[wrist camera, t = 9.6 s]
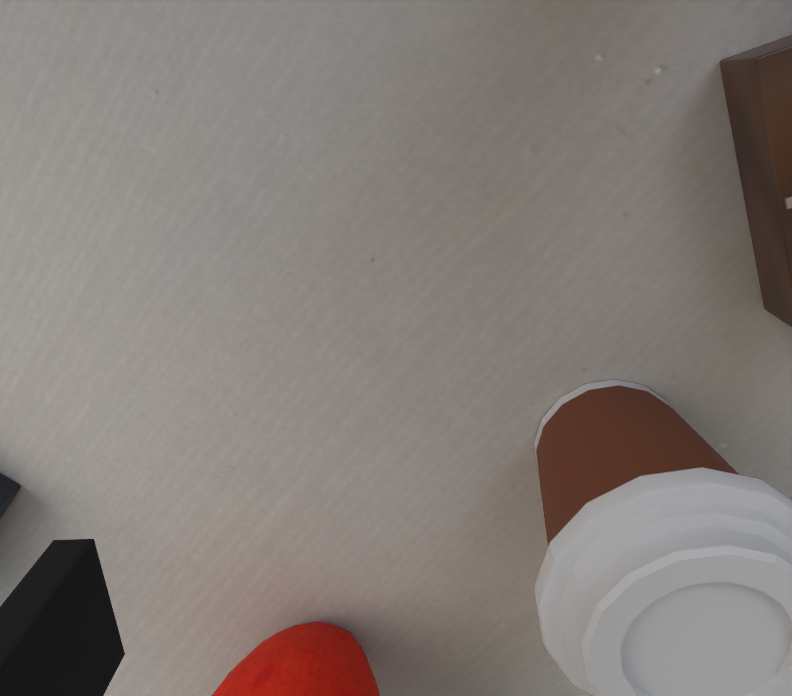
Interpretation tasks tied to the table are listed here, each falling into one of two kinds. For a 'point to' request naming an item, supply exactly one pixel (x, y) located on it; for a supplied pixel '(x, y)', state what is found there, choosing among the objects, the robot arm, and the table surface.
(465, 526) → the table surface
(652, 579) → the coffee cup
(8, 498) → the switch block
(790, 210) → the panel
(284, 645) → the apple
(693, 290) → the table surface
